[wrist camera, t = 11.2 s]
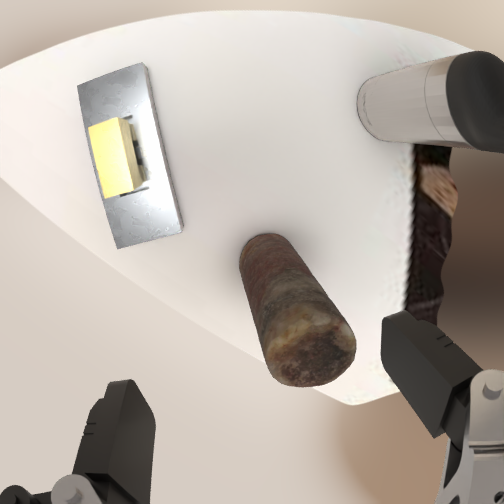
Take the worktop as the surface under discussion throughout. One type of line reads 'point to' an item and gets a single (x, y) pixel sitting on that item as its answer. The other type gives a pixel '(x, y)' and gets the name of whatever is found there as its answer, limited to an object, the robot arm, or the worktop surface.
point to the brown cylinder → (294, 315)
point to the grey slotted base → (146, 151)
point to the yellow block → (116, 156)
